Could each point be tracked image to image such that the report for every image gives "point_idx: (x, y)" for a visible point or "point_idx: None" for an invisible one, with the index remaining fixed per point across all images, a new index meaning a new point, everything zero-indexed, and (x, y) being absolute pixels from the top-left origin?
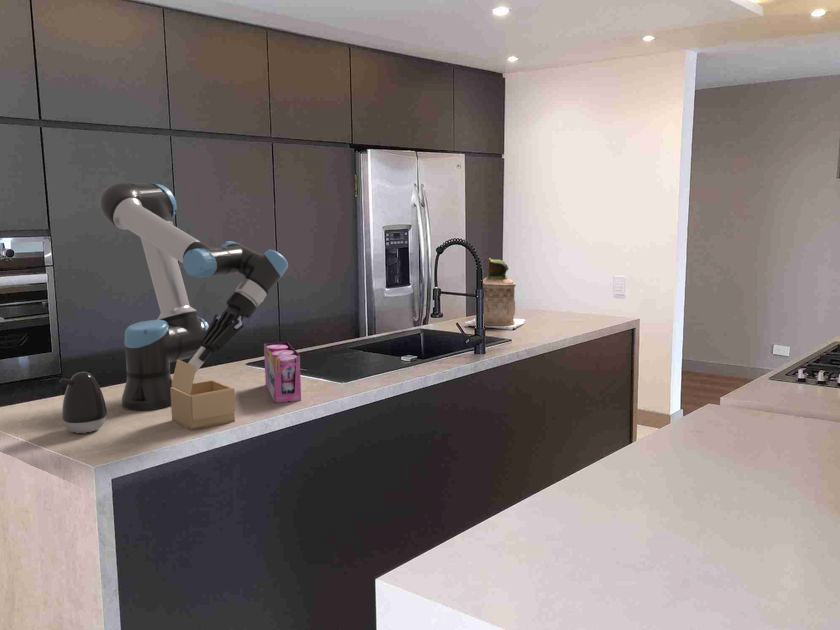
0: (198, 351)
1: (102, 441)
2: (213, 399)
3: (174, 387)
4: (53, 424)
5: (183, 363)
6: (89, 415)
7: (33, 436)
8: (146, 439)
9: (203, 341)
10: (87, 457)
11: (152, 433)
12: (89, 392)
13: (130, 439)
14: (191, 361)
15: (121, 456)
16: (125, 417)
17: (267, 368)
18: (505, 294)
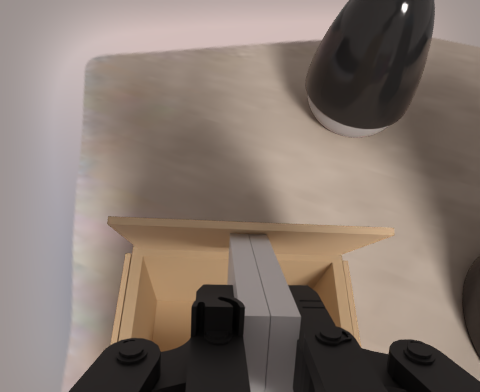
0: (266, 286)
1: (236, 111)
2: None
3: (333, 267)
4: (431, 91)
5: (289, 225)
6: (310, 72)
7: None
8: (175, 176)
9: (362, 358)
10: (153, 64)
11: (214, 205)
12: (339, 25)
13: (205, 152)
14: (244, 248)
15: (102, 101)
16: (414, 212)
17: None
18: None
